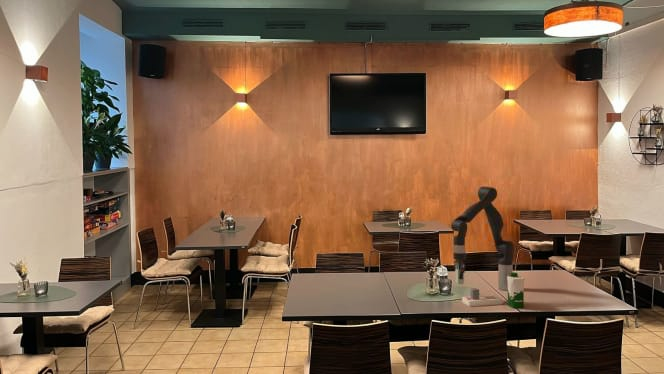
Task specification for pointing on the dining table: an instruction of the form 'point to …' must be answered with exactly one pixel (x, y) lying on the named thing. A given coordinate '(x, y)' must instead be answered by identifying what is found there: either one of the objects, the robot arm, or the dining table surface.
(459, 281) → the green plug
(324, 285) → the dining table surface
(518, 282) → the milk carton
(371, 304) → the dining table surface
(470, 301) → the white plate with window
